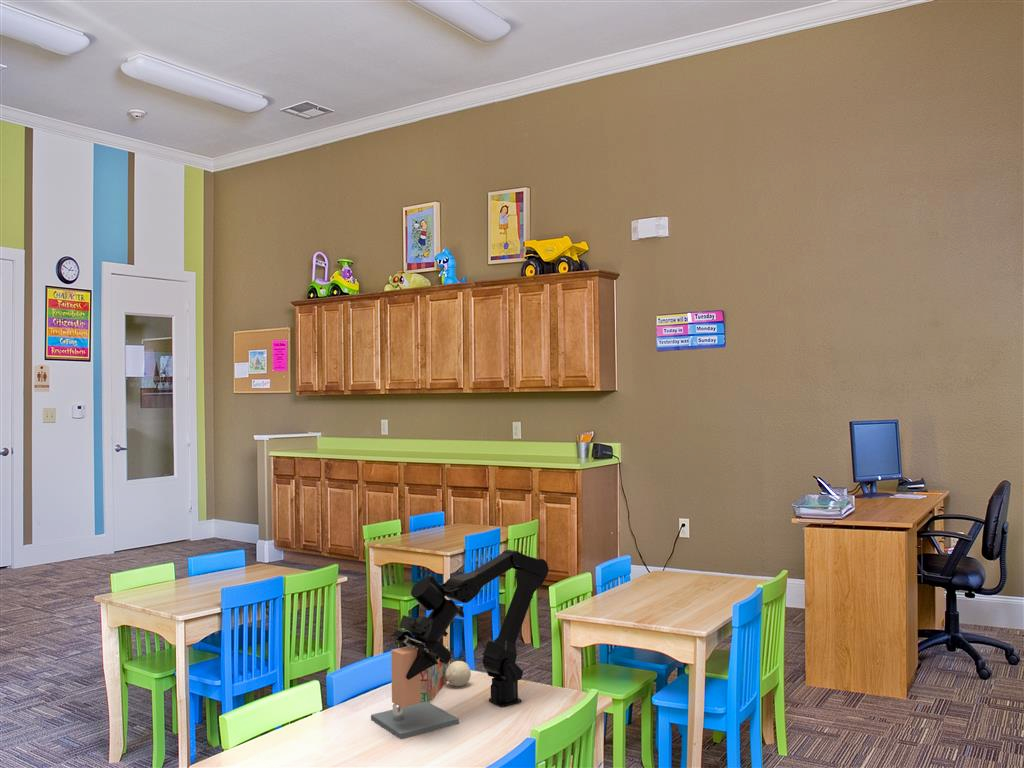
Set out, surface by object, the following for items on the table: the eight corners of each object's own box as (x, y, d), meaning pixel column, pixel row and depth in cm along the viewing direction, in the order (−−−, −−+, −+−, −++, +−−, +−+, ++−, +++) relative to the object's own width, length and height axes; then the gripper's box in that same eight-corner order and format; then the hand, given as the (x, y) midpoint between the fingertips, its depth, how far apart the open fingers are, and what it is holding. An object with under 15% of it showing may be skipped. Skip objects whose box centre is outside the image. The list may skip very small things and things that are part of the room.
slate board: (426, 705, 217) (426, 701, 217) (458, 723, 204) (458, 718, 204) (371, 719, 208) (371, 714, 208) (400, 739, 195) (400, 733, 195)
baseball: (440, 685, 234) (440, 661, 234) (461, 680, 238) (461, 656, 239) (453, 691, 228) (453, 667, 229) (475, 686, 233) (475, 661, 233)
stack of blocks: (428, 678, 241) (428, 635, 241) (449, 679, 240) (448, 636, 240) (405, 703, 220) (405, 656, 220) (428, 704, 219) (428, 657, 219)
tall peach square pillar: (409, 697, 204) (408, 645, 204) (420, 702, 200) (419, 650, 200) (391, 702, 200) (391, 649, 201) (403, 707, 197) (402, 654, 197)
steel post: (400, 721, 207) (400, 702, 207) (405, 724, 204) (405, 705, 205) (391, 723, 205) (390, 704, 205) (396, 726, 203) (395, 707, 203)
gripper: (398, 596, 211) (360, 648, 203) (440, 608, 196) (401, 665, 189) (424, 622, 215) (388, 674, 208) (467, 635, 201) (430, 692, 194)
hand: (401, 676), depth 200 cm, fingers closed on tall peach square pillar, 5 cm apart
